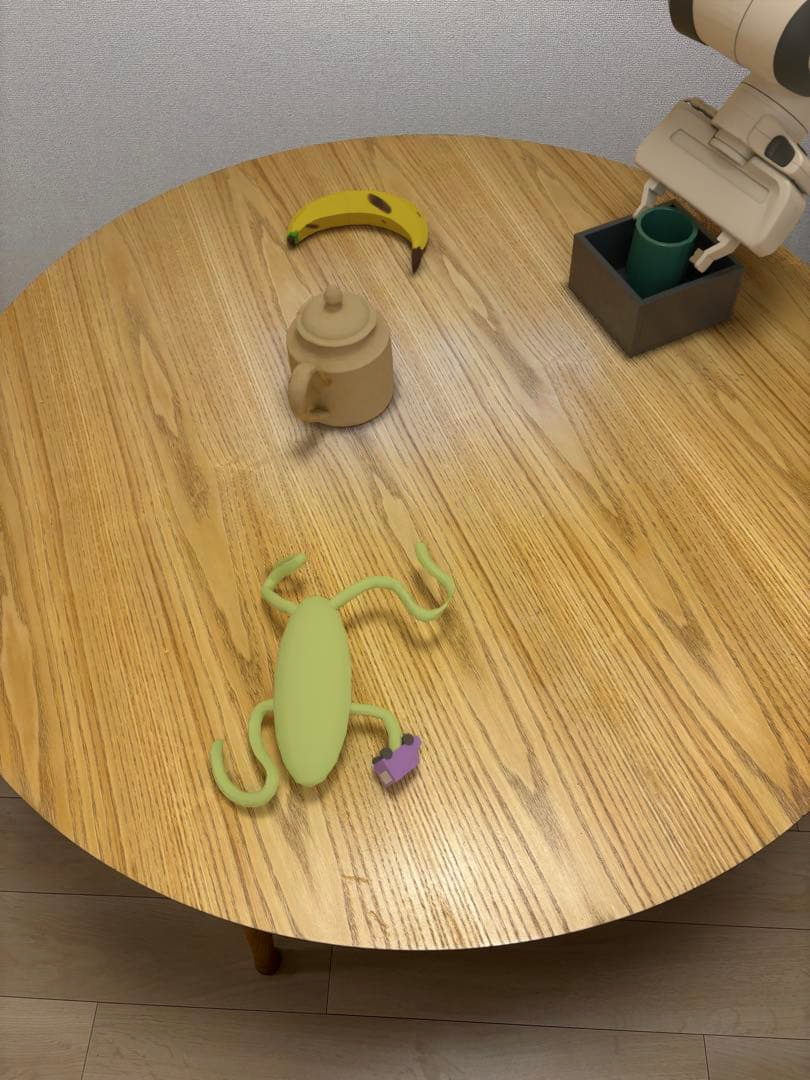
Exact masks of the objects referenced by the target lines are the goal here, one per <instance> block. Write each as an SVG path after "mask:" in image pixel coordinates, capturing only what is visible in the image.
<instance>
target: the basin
mask: <svg viewBox="0 0 810 1080" xmlns="http://www.w3.org/2000/svg"><path fill="white" fill-rule="evenodd" d="M659 206H667V207H674V208H677V209H680V210H682V211H684V212H686V213H688V214H689V215H690V216H691V217H692V218H693V219H694V220H695V222H696V224H697V226H698V230H697V236H696V239H695V243H694V246H693V249H692V253H691V256H693V255H694V253H695V251H696V250H697V249H698V248H699V249H701V250H702V251H705V250H707V249H709V248H710V247H712V246H714V245H716V244H718V243H720V242H719V241H718V240H717V238H718V237H716V236H715V235H714V234H713V233H712V232H710V230H708V228H706V226H705V225H703V224H702V223H701V222H700V221H699V220H698V219H697V217H695V216H694V215H693V214H692V213H691V212H690V211H688V209H687V208H686V207H684V205H683V204H681V202H680V201H678V199H676V198H673V199H670V200H668V201H665V202H662V203H661V202H660V203H659V204H656V205H654V207H659ZM633 214H634V212H633V213H631V214H630V213H629V214H627V215H625V216H622V217H619V218H616V219H613V220H611V221H608V222H605V223H602V224H598V225H597V226H593V227H590V228H586V229H585V230H582V231H578V232H575V233H574V234H573V241H572V250H571V259H570V266H569V276H568V283H567V284H568V285H567V286H568V288H569V289H570V290H571V291H572V292H573V293H574V295H575V296H576V297H577V298H578V300H580V302H581V303H582V304H583V305H584V306H585V307H586V309H587V310H588V311H589V312H590V313H591V315H592V316H593V317H594V318H595V319H596V320H597V322H599V324H600V325H601V326H602V327H603V329H604V330H606V332H607V333H608V334H609V335H610V337H611V338H612V339H613V340H614V341H615V342H616V344H617V345H618V346H619V347H620V348H621V350H623V351H624V353H625V354H626V355H627V356H628V357H629V358H632V357H635V356H637V355H640V354H643V353H645V352H647V351H650V350H654V349H655V348H658V347H661V346H664V345H666V344H669V343H671V342H674V341H676V340H679V339H681V338H684V337H687V336H690V335H692V334H695V333H697V332H699V331H702V330H705V329H707V328H710V327H712V326H715V325H718V324H720V323H723V322H726V321H728V320H731V318H732V314H733V311H734V308H735V304H736V300H737V298H738V295H739V294H738V293H739V291H740V287H741V284H742V280H743V277H744V274H745V271H746V268H747V267H746V265H745V264H744V263H743V262H742V261H741V260H740V259H738V257H737V256H736V255H735V254H734V253H733V252H732V253H730V254H728V255H726V256H724V257H721V258H719V259H717V260H714V261H713V262H712V263H711V264H710V266H709V267H708V268H707V269H706V270H705V271H704V272H700V271H699V270H698V269H696V268H695V267H694V266H693V265H691V264H690V263H689V262H688V266H687V269H686V272H685V276H684V279H683V282H682V285H680V286H677V287H674V288H672V289H669V290H666V291H664V292H661V293H658V294H655V295H653V296H650V297H647V298H645V299H641V298H640V297H639V296H638V295H637V293H636V292H635V291H634V290H633V289H632V288H631V287H630V286H629V285H628V284H627V283H626V281H625V280H624V279H623V275H624V271H625V267H626V263H627V259H628V254H629V250H630V246H631V242H632V237H633V233H634V229H635V225H636V220H634V219H633V218H632V216H633ZM691 256H690V258H691Z"/></svg>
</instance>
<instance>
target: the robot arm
mask: <svg viewBox="0 0 810 1080" xmlns="http://www.w3.org/2000/svg"><path fill="white" fill-rule="evenodd" d="M667 6H668V13H669V17H670V21H671V24H672V27H673V29H674V30H676V32H677V33H679V34H681V35H683V36H684V37H686V38H688V39H691V40H693V41H695V42H697V43H699V44H701V45H703V46H706V47H710V48H711V49H712V50H715V51H716V52H717V53H718V54H720V55H722V56H723V57H725V58H727V59H729V60H730V61H732V62H733V63H735V64H736V65H737V66H739V67H741V68H744V69H746V70H748V71H749V72H750V73H749V74H747V75H746V76H745V77H744V78H743V79H742V80H741V81H740V82H739V84H738V85H737V86H736V88H735V89H734V90H733V91H732V93H731V94H730V95H729V96H728V98H727V99H726V100H725V102H724V103H723V104H722V106H721V107H720V109H717V108H716V107H714V106H712V105H710V104H709V103H708V104H707V102H706V101H705V100H704V99H702V98H700V97H698V96H693V97H687V98H684V99H683V98H682V99H681V100H679V101H677V102H676V103H675V104H674V105H673V106H672V108H671V110H670V111H669V112H668V114H666V116H665V117H664V118H662V120H660V121H659V123H657V125H656V126H655V127H654V128H653V129H652V130H651V131H650V132H649V134H647V136H646V137H645V138H644V139H643V141H642V142H641V143H640V144H639V145H638V147H637V148H636V150H635V152H634V159H633V162H634V164H635V166H637V167H638V168H639V169H641V170H642V171H643V172H645V173H646V174H647V175H648V176H650V177H648V179H647V181H646V182H645V183H644V185H643V190H642V195H641V200H640V204H639V205H638V207H637V208H636V210H635V211H634V212H633V213H634V214H633V213H632V214H633V216H632V218H633V219H634V220H636V221H637V217H638V216H639V215H640V214H641V213H642V212H643V211H645V210H647V209H649V208H652V207H654V206H655V204H656V201H657V196H658V197H660V198H661V197H663V195H664V194H665V193H666V192H667V190H668V191H670V192H671V193H673V194H674V195H675V196H677V197H678V198H679V199H681V200H682V201H683V202H685V203H686V204H687V205H688V206H690V207H691V208H692V209H693V210H695V211H697V212H698V213H700V214H701V215H702V216H703V217H705V218H706V219H707V220H709V221H710V222H711V223H712V224H714V225H715V226H717V227H718V228H720V229H721V230H722V231H721V233H719V235H718V236H717V237H716V238H717V240H718V241H719V242H720V243H718V244H716V245H714V246H712V247H710V248H709V249H707V250H705V251H702V250H701V249H699V248H698V249H697V250H696V251H695V253H694V255H693V256H691V258H690V259H689V263H690V264H691V265H693V266H694V267H695V268H696V269H698V270H699V271H700V272H704V271H705V270H706V269H707V268H708V267H709V266H710V264H711V263H712V262H713V261H714V260H717V259H719V258H721V257H724V256H726V255H728V254H730V253H732V254H733V253H734V252H735V250H736V249H737V248H738V247H739V246H740V245H742V246H744V247H745V248H746V249H748V251H750V252H752V253H753V254H754V255H756V256H757V257H758V258H763V257H767V256H770V255H772V254H774V253H775V251H777V250H778V248H779V247H780V246H781V245H782V244H783V243H784V241H785V240H786V239H787V238H788V236H789V235H790V233H791V232H792V231H793V229H794V228H795V226H796V225H797V223H798V222H799V220H800V219H801V218H802V216H803V214H804V212H805V209H806V205H807V201H806V196H807V197H808V196H809V197H810V159H809V158H808V156H809V155H808V153H807V151H806V150H805V149H804V148H803V146H802V145H801V143H802V142H803V140H804V139H805V138H806V137H807V135H809V133H810V0H667Z"/></svg>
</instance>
